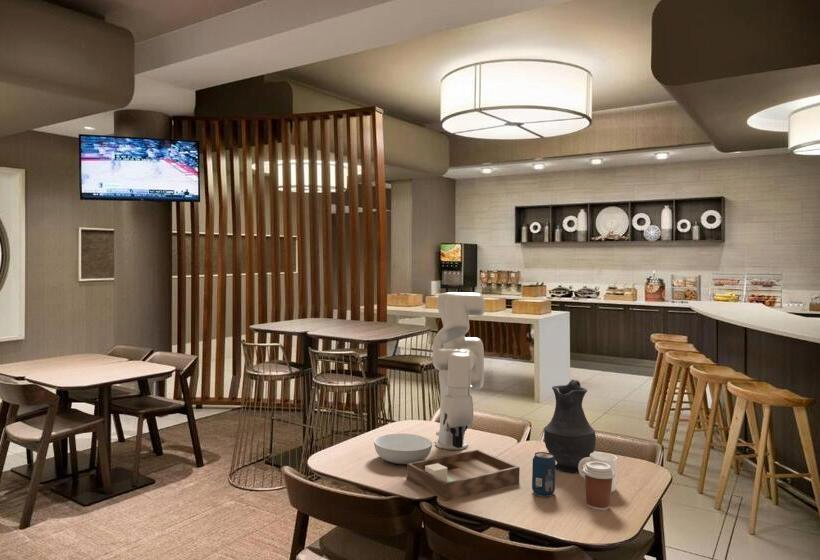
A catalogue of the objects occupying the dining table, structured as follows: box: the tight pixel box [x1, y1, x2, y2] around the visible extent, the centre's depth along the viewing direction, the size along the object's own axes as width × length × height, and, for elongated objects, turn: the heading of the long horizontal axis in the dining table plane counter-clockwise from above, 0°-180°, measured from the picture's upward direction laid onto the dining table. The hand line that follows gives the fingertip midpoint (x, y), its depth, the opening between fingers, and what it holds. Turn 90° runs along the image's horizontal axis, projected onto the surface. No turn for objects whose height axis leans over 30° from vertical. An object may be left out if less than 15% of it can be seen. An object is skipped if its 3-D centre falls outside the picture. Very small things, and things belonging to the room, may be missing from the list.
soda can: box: [531, 451, 557, 498], centre depth 178 cm, size 7×7×12 cm
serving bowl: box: [373, 432, 433, 465], centre depth 207 cm, size 21×21×7 cm
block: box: [425, 463, 447, 481], centre depth 181 cm, size 5×5×4 cm
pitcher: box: [543, 379, 597, 474], centre depth 202 cm, size 17×21×30 cm
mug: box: [578, 451, 618, 493], centre depth 184 cm, size 12×8×10 cm
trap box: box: [406, 449, 520, 502], centre depth 187 cm, size 30×21×5 cm
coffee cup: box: [583, 461, 615, 511], centre depth 169 cm, size 9×9×12 cm
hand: (457, 446), depth 187 cm, fingers closed
